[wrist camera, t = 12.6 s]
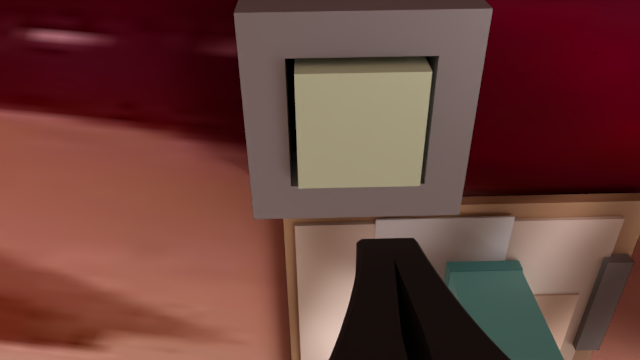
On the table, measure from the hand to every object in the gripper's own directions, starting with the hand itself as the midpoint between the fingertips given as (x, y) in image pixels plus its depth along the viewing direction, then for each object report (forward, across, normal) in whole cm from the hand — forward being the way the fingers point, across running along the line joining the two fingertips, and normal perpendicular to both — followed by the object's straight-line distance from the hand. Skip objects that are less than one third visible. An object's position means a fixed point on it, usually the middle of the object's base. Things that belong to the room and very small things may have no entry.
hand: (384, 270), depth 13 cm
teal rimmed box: (+9, -6, +10) cm, 14 cm away
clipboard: (+10, -5, +11) cm, 16 cm away
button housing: (+10, 0, 0) cm, 10 cm away
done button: (+9, 0, 0) cm, 9 cm away
